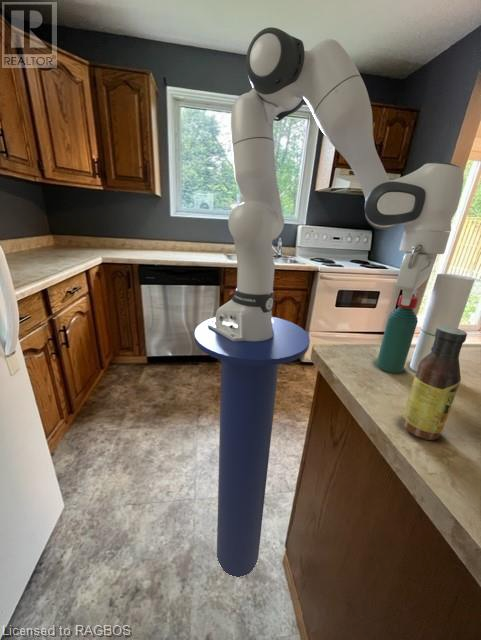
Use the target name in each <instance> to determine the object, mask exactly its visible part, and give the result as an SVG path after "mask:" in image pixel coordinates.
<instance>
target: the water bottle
mask: <svg viewBox="0 0 481 640" xmlns="http://www.w3.org/2000/svg"><path fill="white" fill-rule="evenodd" d="M418 322H419V321H418V317H417V315H416V314H415V311H414V309H409V308H403V307H400V306H398V307H397V308H395V309H394V310H393V311H391V312H390V313H389V314H388V316H387V320H386V324H385V329H384V331H383V332H384V333H383V336H382V339H381V344H380V348H379V352H378V355H377V360H376V362H375V363H376V366H377V368H379V369H381V370H382V371H384V372H388V373H390V374H391V373H392V374H401V373H403V372H404V369H405V365H406V361H407V359H408V356H409V352H410V349H411V345H412V343H413V339H414V335H415V332H416V329H417V326H418Z"/></svg>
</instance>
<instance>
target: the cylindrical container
mask: <svg viewBox="0 0 481 640" xmlns="http://www.w3.org/2000/svg"><path fill="white" fill-rule="evenodd" d="M475 280H476V278H474V277H471V276H466V275H461V274H452V273H437V274H436V278H435V280H434V284H433V288H432V292H431V294H430V298H429V301H428V304H427V307H426V311H425V314H424V317H423V321H422V324H421V327H420V331H419V334H418V338H417V341H416V344H415V348H414V351H413V354H412V357H411V360H410V364H409V367H410V369H411V370H412V371H414V372H415V373H417V370H418V365H419V363H420V361H421V360H422V359H423V358H424V357H425V356H427V355H428V354H430V353H431V352H432V351H431V348H432V347H433V344H434V341H435V333H436V330H437V327H440V326H446V327H452V328H456V329H459V326H460V324H461V320H462V317H463V315H464V313H465V309H466V307H467V303H468V300H469V299H470V295H471V292H472V290H473V286H474V284H475Z"/></svg>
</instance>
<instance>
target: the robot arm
mask: <svg viewBox="0 0 481 640" xmlns="http://www.w3.org/2000/svg"><path fill="white" fill-rule="evenodd" d="M245 69H246V74H247V78H248V80H249V82H250V84H251V87H252V89H250V90H249V92H245V93H243V94H241V95H239V96H238V97H237V98H236V99H235V101H234V102H233V103H232V107H231V116H230V117H231V118H230V142H231V152H232V161H233V163H232V164H233V172H234V181H235V185H236V186H237V188H238V191H239V193H240V196H241V200H242V202H241V203H239V204H237V205H236V206H234V207H233V209H232V210H231V211H230V213H229V216H228V221H227V227H228V230H229V232H230V234H231V237H232V238H233V239H232V240H233V243H234V248H235V255H236V264H237V268H236V270H237V271H236V272H237V273H236V288H235V289H232V290H229V292H230V293H229V295H232V297H231V299H230V300H229V301H227V302H226V303H224V304H222V305H221V306H220V307H218V308H217V309H216V312H215V316H214V318H215V319H214V320H212V321H211V322H209V324H208V327H209V328H211V329H213V330H215V331H216V332H218V333H220V334H221V335H223V336H225V337H227V338H228V339H230V340H232V341H264V340H268V339H270V338H272V337H273V336H274V331H273V326H272V323H273V319H272V317H273V315H272V313H273V312H272V311H273V307H274V296H275V294H274V293H275V292H274V282H275V281H274V280H275V269H276V265H275V260H274V252H273V241H274V240H276V239H277V238H278V237H279V236H280V235H281V234H282V231H283V230H284V227H285V219H284V215H283V208H282V201H281V196H280V191H279V185H278V179H277V172H276V171H277V170H276V155H275V141H274V123H275V122H280V121H282V120H283V119H284V118H286V117H288V116H290V115H292V114H294V113H296V112H298V111H299V110H300V109H301V108H302V107H303V105H304V104H305V103H306V105H308V107H309V109H310V112H311V114H312V116H313V118H314V120H315V122H316V124H317V126H318V127H319V129H320V131H321V132H322V133H323V135H324V136H325V138H326V139H327V140H328V142H329V143H330V144H331V145H332V146H333V147H334V149H335V150H337V152H338V153H339V154H340V155H341V156H342V157H343V159H345V160H344V161H346V162H347V164H348V166H349V167H350V169H351V171H352V172H353V174H354V177H355V178H356V181H357V183H358V185H359V187H360V190H361V191H362V195H363V196H364V215H365V219H366V221H367V222H368V224H369V225H370V226H371V227H373V228H375V229H379V230H388V229H389V230H390V229H391V228H394V227H396V226H397V225H403V226H404V227H403V232H402V236H401V241H400V244H399V249H398V250H399V251H400V252H404V253H403V258H402V261H401V263H400V264H401V265H400V267H399V271H398V274H397V278H396V283H395V288H396V289H397V290H402V292H401V293H402V294H401V295H402V301H401V304H402V305H405V306H409V305H410V304H411V300H412V296H414V297H417V296H416V295H417V293H418V291H419V288H420V286H421V285H423V283H424V282H425V281H427V279H428V278H429V276H430V274H431V272H432V269H433V267H434V264H435V262H436V259H437V257H438V255H444V254H445V251H446V248H447V245H448V241H449V238H450V235H451V231H452V220H453V217H454V216H455V214H456V212H457V210H458V207H459V205H460V200H461V197H462V193H463V186H464V178H465V177H464V175H465V174H464V171H463V169H462V168H461V167H459V165H456V164H454V163H449V162H445V161H444V162H442V161H437V162H433V161H432V162H427V163H425V164H423V165H422V166H420V167H419V168H418V169H416V170H414V171H411V172H410V173H408V174H406V175H403V176H400V177H398V178H395V179H390V178H389V177H388V174H387V172H386V170H385V167H384V165H383V163H382V161H381V158H380V156H379V154H378V152H377V149H376V145H375V139H374V124H373V110H372V104H371V100H370V96H369V93H368V90H367V87H366V84H365V82H364V80H363V78H362V76H361V74H360V72H359V70H358V68H357V66H356V64H355V62H354V60H353V59H352V58H351V56H350V55H349V54H348V52H347V51H346V50H345V47H344V46H342V44H340V42H339V41H337V40H336V39H332V38H328V39H324V40H321V41H320V42H318V43H317V44H315V45H314V47H312V48H311V49H309V50H305V45H304V42H303V40H302V39H299V38H297V37H295V36H293V35H291V34H289V33H287V32H285V31H284V30H282V29H280V28H277V27H266V28H264V29H263V28H262V30H260V31H259V32H258V33H257V34H256V35H255V36H254V37H253V38H252V39H251V42H250V43H249V45H248V48H247V51H246V57H245Z"/></svg>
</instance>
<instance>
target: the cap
mask: <svg viewBox="0 0 481 640" xmlns="http://www.w3.org/2000/svg"><path fill="white" fill-rule="evenodd" d="M418 300H419V297H417V296H415V297H414V296H412V300H411V304H410V305H409V306H405V305H402V304H401V301H402V294H400V295H399V299H398V301H397V306H398V307H403V308H409V309H413V310H414V309H416V307H417V304H418Z"/></svg>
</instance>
